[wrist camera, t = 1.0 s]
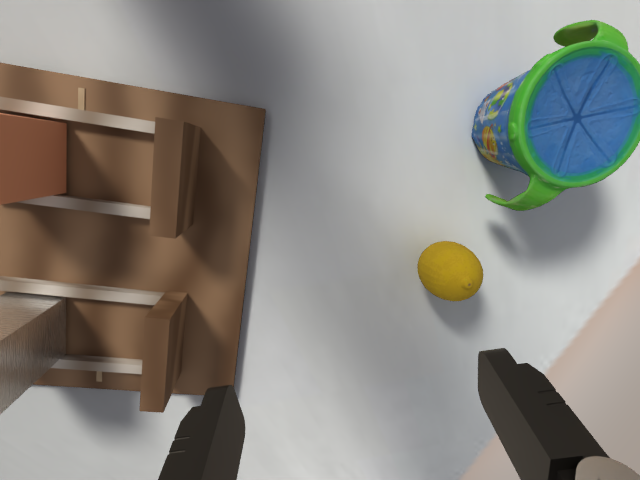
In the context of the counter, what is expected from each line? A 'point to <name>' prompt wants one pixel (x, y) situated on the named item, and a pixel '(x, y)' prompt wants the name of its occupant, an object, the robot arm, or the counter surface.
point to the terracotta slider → (31, 158)
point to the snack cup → (564, 115)
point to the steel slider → (28, 340)
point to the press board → (137, 232)
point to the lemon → (450, 271)
